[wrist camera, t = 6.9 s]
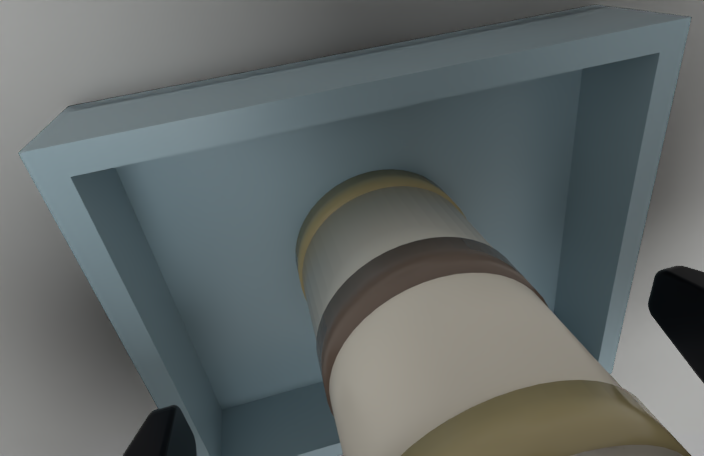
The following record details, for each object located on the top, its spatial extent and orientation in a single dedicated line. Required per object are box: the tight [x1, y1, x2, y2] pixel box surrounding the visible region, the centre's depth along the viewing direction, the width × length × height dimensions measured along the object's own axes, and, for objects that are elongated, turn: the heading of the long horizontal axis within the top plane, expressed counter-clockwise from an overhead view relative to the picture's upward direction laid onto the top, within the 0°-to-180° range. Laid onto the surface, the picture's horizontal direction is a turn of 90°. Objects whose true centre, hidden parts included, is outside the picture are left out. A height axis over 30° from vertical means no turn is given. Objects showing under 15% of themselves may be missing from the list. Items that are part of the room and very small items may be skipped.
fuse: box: [295, 169, 691, 456], centre depth 8 cm, size 4×4×7 cm
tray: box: [18, 5, 691, 456], centre depth 11 cm, size 9×11×2 cm
